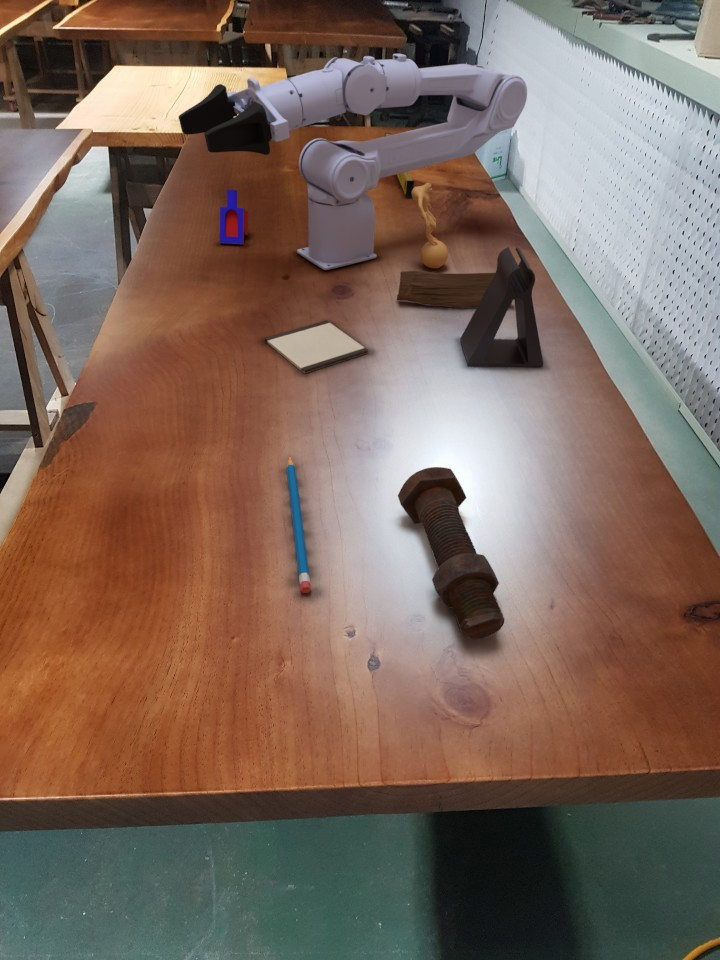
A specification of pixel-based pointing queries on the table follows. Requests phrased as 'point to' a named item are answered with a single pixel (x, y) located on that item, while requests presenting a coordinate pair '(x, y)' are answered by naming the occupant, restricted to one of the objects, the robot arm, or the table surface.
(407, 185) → the spirit level
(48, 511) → the table surface
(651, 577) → the table surface
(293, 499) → the pencil
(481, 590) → the bolt
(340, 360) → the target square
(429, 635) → the table surface
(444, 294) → the wood plank
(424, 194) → the figurine
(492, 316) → the phone stand
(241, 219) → the toy building block
